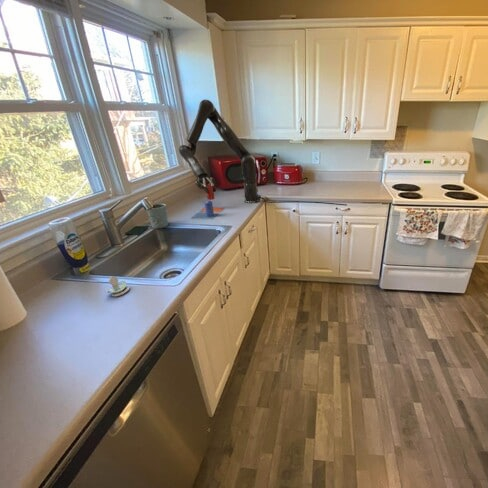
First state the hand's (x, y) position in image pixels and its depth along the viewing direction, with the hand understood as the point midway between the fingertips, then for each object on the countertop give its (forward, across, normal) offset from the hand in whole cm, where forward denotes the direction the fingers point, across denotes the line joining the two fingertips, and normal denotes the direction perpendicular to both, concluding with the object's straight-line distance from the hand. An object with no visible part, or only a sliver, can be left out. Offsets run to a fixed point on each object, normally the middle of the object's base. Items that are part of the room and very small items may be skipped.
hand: (211, 191), depth 185 cm
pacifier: (+49, -78, -31) cm, 98 cm away
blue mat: (+13, -11, +5) cm, 18 cm away
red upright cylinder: (+2, 0, +5) cm, 5 cm away
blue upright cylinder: (+15, -9, +3) cm, 17 cm away
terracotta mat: (+8, 0, +10) cm, 13 cm away
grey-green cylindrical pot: (+10, -37, +8) cm, 39 cm away
